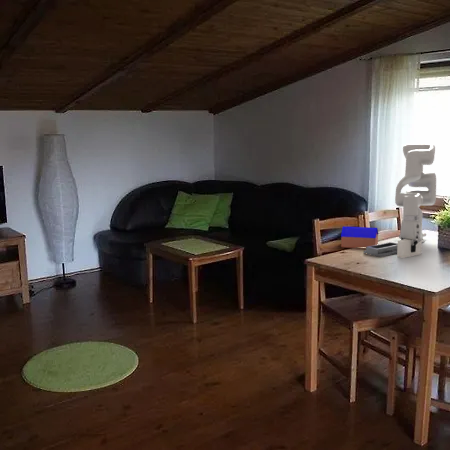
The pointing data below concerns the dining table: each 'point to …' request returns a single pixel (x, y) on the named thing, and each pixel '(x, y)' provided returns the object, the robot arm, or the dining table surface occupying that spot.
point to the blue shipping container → (359, 237)
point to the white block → (407, 248)
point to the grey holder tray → (382, 249)
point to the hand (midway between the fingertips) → (409, 251)
